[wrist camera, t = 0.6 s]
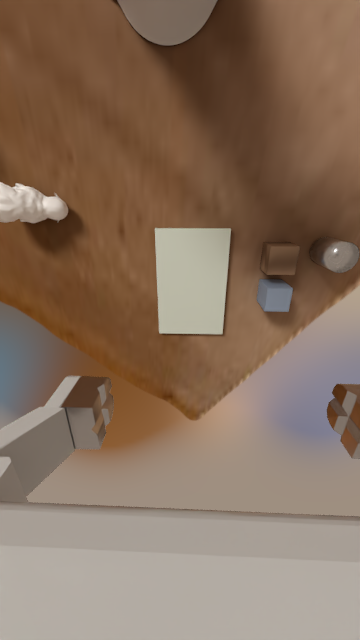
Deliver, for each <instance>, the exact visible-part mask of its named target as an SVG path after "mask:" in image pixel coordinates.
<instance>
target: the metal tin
mask: <svg viewBox="0 0 360 640" xmlns="http://www.w3.org/2000/svg"><path fill="white" fill-rule="evenodd" d="M309 255H310V258H311V260H312V261H313V262H315V263H317V264H319V265H321V266H323V267H325V268H327V269H329V270H331V271H333V272H336V273H343V272H346V271H348V270H350V269H351V268H352V267H353V266H354V265H355V264H356V263H357V261H358V259H359V249H358V247H357V246H356V245H355V244H353V243H350V242H346V241H342V240H338V239H334V238H330V237H322V238H319V239H318V240H316V241H315V242H314V243H313V244H312V246H311V248H310V252H309Z"/></svg>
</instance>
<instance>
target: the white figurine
mask: <svg viewBox="0 0 360 640" xmlns="http://www.w3.org/2000/svg"><path fill="white" fill-rule="evenodd" d="M15 185H16V186H15V187H10V186H8V185H5V184H3V183H1V182H0V222H5V223H6V222H11V221H15V220H17V219H20V221H21V222H30V223H37V222H40V221H42V220H45V219H47V218H50V219H54V220H56V221H57V220H58V221H57V223H58V222H59V220H61V219H64V218H65V217H66V216H67V214H68V207H67V205H66V203H65V202H64V201H63V200H61V199H60V198H59V197H58V195H57V194H56V195H55V194H54V195H55V196H56V197H55V196H54V197H46V196H45V195H43V194H42V193H41V192H39V191H37V190H36V189H34V188H32V187H28V186H24V185H22V184H18V183H16V184H15Z"/></svg>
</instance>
